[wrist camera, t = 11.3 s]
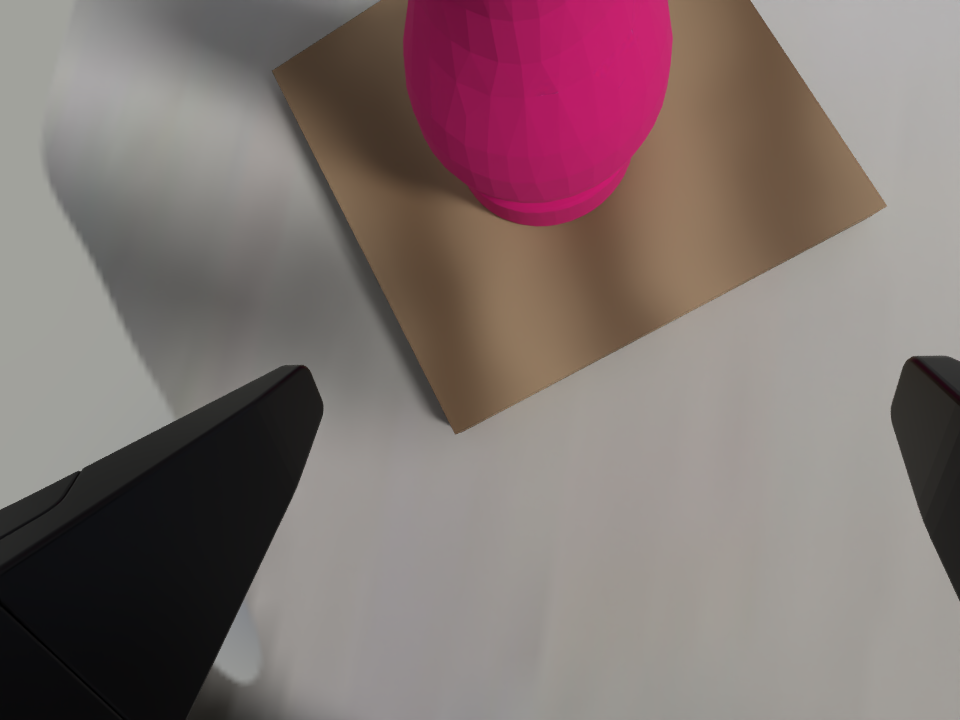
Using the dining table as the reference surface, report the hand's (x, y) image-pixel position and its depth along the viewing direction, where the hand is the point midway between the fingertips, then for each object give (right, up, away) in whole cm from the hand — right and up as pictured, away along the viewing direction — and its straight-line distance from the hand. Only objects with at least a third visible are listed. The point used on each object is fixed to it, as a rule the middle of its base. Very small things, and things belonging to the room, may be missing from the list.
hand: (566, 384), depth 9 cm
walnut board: (+1, +8, +12) cm, 15 cm away
